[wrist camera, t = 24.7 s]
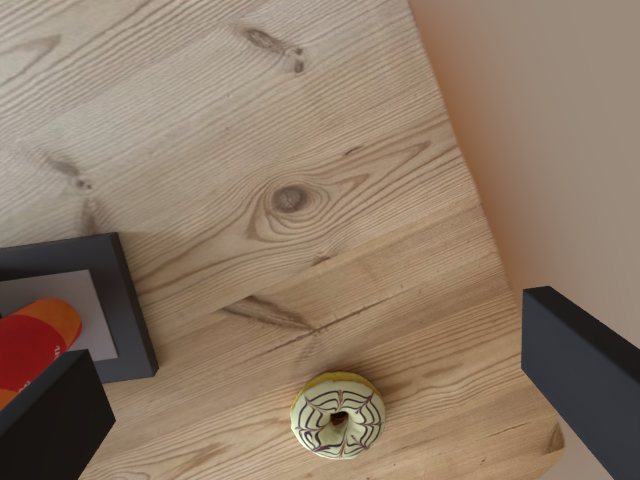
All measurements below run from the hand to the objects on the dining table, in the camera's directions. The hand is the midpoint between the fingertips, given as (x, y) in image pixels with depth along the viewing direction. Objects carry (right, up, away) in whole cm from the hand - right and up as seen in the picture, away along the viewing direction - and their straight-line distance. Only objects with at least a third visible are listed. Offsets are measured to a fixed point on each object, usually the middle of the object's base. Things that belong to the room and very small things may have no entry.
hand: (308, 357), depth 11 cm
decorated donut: (+2, -15, +33) cm, 36 cm away
